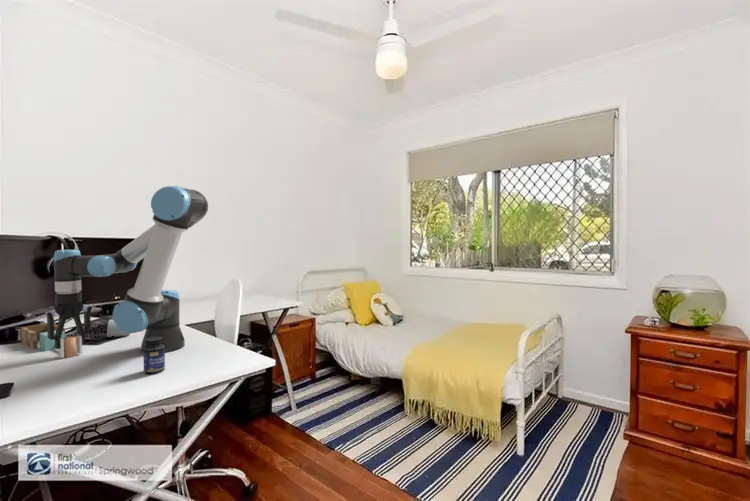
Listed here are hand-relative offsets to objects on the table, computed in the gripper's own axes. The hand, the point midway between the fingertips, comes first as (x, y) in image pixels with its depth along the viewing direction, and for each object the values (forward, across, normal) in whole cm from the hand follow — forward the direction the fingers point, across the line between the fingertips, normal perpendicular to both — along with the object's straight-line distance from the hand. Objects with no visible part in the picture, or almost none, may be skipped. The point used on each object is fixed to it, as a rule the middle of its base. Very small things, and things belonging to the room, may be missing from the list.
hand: (70, 354), depth 139 cm
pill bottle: (+1, -10, +40) cm, 41 cm away
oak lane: (+1, 0, -29) cm, 29 cm away
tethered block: (+1, 0, -9) cm, 9 cm away
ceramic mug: (+1, -23, -16) cm, 28 cm away
